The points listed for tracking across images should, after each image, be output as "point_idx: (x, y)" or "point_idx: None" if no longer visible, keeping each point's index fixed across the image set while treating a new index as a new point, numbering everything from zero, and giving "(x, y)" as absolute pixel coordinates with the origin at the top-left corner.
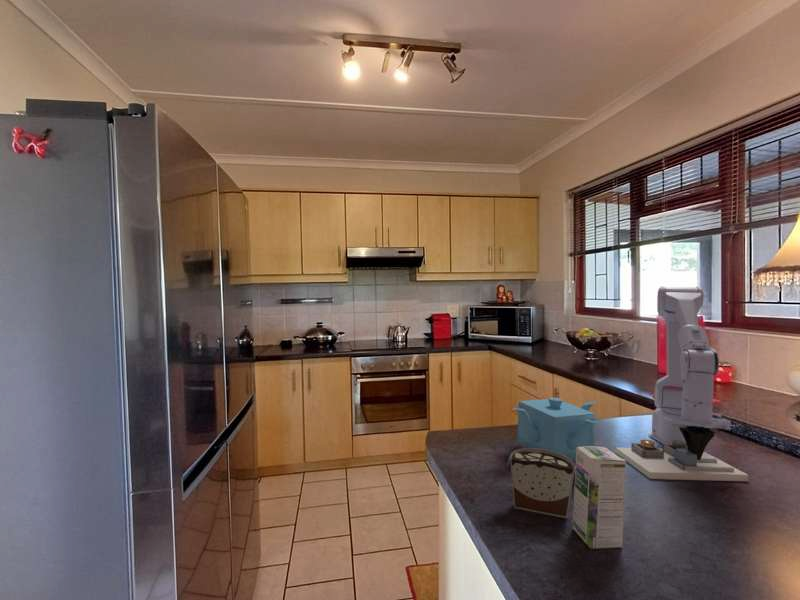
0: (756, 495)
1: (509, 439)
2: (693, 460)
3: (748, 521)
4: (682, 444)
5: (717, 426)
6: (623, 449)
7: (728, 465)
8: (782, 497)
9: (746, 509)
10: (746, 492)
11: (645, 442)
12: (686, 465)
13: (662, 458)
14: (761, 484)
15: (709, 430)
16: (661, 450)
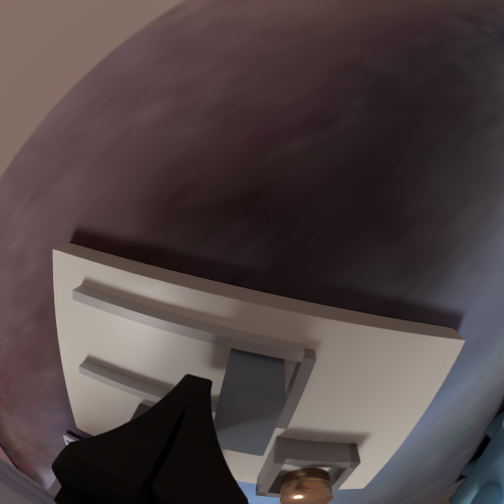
0: (142, 133)
1: None
2: (245, 373)
3: (388, 9)
4: None
5: (3, 471)
6: (354, 481)
7: (63, 329)
8: (69, 119)
9: (316, 48)
10: (157, 160)
11: (324, 496)
12: (282, 364)
13: (287, 435)
14: (47, 215)
15: (72, 487)
16: (276, 463)
